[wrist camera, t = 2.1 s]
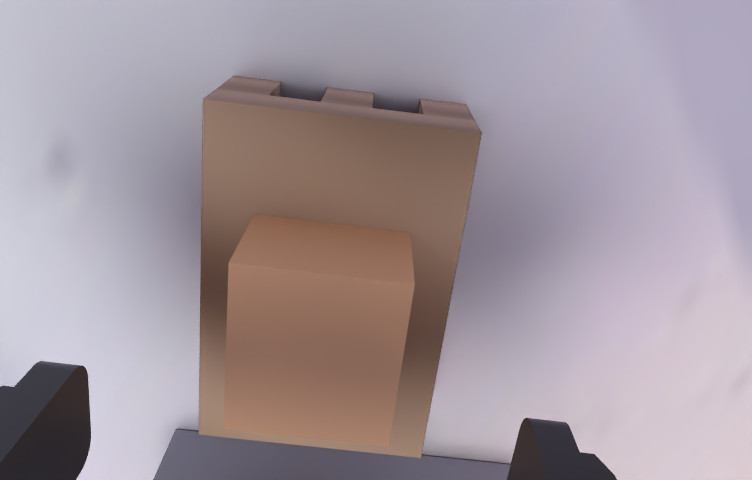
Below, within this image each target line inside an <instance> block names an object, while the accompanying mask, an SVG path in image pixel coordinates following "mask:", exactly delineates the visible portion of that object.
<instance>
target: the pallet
mask: <svg viewBox="0 0 752 480" xmlns="http://www.w3.org/2000/svg"><path fill="white" fill-rule="evenodd" d="M280 87H281V82H279V81H271V80H263V79H254V78H246V77H238V76H233V77H232V78H231V79H229V80H228V81H227V82H225V83H224V84H223V85H221V86H220V87H219V88H217V89H216V90H215V91H213V92H212V93H211V94H209V95H208V96H207V97H205V98H204V99H203V137H202V215H201V292H200V369H199V435H207V436H217V437H226V438H236V439H245V440H255V441H264V442H274V443H283V444H293V445H302V446H312V447H321V448H331V449H340V450H350V451H359V452H369V453H378V454H388V455H397V456H407V457H416V458H421V454H422V449H423V444H424V438H425V433H426V428H427V422H428V417H429V412H430V406H431V401H432V396H433V390H434V385H435V380H436V374H437V369H438V364H439V358H440V353H441V348H442V342H443V337H444V332H445V326H446V321H447V316H448V310H449V305H450V300H451V294H452V289H453V284H454V278H455V273H456V268H457V262H458V257H459V252H460V246H461V241H462V236H463V230H464V225H465V220H466V214H467V209H468V204H469V198H470V193H471V188H472V182H473V177H474V172H475V166H476V161H477V156H478V150H479V145H480V140H481V134H482V133H481V131H480V129H479V127H478V125H477V124H476V122H475V120H474V118H473V116H472V115H471V113H470V111H469V109H468V107H467V105H465V104H457V103H449V102H441V101H433V100H425V99H420V103H419V110H418V114H417V113H409V112H401V111H393V110H385V109H376V108H372V107H373V97H374V93H368V92H360V91H352V90H344V89H335V88H327V90H326V92H325V94H324V96H323V98H322V100H321V102H319V101H311V100H303V99H295V98H287V97H280ZM254 214H256V215H264V216H273V217H281V218H290V219H299V220H307V221H316V222H324V223H333V224H341V225H350V226H359V227H367V228H376V229H384V230H393V231H401V232H410V233H411V245H412V256H413V268H414V280H415V286H414V293H413V299H412V305H411V311H410V318H409V324H408V330H407V336H406V342H405V349H404V355H403V361H402V367H401V374H400V380H399V386H398V392H397V398H396V405H395V411H394V417H393V423H392V429H391V436H390V442H389V447H387V446H378V445H368V444H359V443H349V442H340V441H330V440H321V439H312V438H302V437H293V436H283V435H274V434H264V433H255V432H245V431H236V430H226V429H223V423H224V392H225V360H226V329H227V298H228V266H229V261H230V259H231V257H232V256H233V254H234V252H235V250H236V248H237V246H238V244H239V242H240V240H241V238H242V237H243V235H244V233H245V231H246V229H247V227H248V225H249V223H250V221H251V219H252V218H253V216H254Z"/></svg>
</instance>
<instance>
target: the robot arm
mask: <svg viewBox="0 0 752 480" xmlns="http://www.w3.org/2000/svg"><path fill="white" fill-rule="evenodd" d="M90 441H91V426H90V407H89V388H88V374H87V371H86V368H85V367H84V366H79V365H71V364H62V363H53V362H44V361H40V362H38V363H36V364H35V365H34V366H33V367H32V368H31V369H30V370H29V371H28V372H27V374H26V375H25V376H24V377H23V378H22V379H21V380H20V381H19V382H18V383H17V385H16V386H15V387H9V386H1V387H0V480H76V479H77V477H78V475H79V474H80V472H81V470H82V468H83V466H84V464H85V461H86V459H87V456H88V452H89V447H90ZM507 480H617V479H616V477H615V475H614V474H613V473H612V472H611V471H610V470H609V469H608V468H607V467H606V466H605V465H604V464H603V463H602V462H601V461H600V460H599V458H598V457H597V456H596V455H595V454H588V453H580V452H579V450H578V447H577V445H576V442H575V440H574V437H573V435H572V432H571V430H570V427H569V425H568V424H567V423H565V422H557V421H549V420H540V419H531V418H525V419H524V420H523V422H522V424H521V427H520V430H519V434H518V438H517V442H516V446H515V450H514V454H513V458H512V461H511V465H510V469H509V473H508V477H507Z"/></svg>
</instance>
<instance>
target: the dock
mask: <svg viewBox="0 0 752 480" xmlns="http://www.w3.org/2000/svg"><path fill="white" fill-rule="evenodd" d="M509 469H510V464H500V463H491V462H482V461H472V460H463V459H453V458H444V457H434V456H425V455H421V458H416V457H407V456H397V455H388V454H378V453H369V452H359V451H350V450H340V449H331V448H321V447H312V446H302V445H293V444H283V443H274V442H264V441H255V440H245V439H236V438H226V437H217V436H207V435H199V432H197V431H188V430H178V429H176V430H175V433H174V435H173V437H172V439H171V442H170V444H169V446H168V448H167V450H166V453H165V455H164V457H163V459H162V461H161V464H160V466H159V468H158V470H157V473H156V475H155V477H154V479H153V480H507V477H508V473H509Z"/></svg>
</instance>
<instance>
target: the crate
mask: <svg viewBox="0 0 752 480" xmlns="http://www.w3.org/2000/svg"><path fill="white" fill-rule="evenodd" d="M414 286H415V280H414V268H413V256H412V245H411V233H410V232H401V231H393V230H384V229H376V228H367V227H359V226H350V225H341V224H333V223H324V222H316V221H307V220H299V219H290V218H281V217H273V216H264V215H256V214H254V216H253V218H252V219H251V221H250V223H249V225H248V227H247V229H246V231H245V233H244V235H243V237H242V238H241V240H240V242H239V244H238V246H237V248H236V250H235V252H234V254H233V256H232V257H231V259H230V261H229V266H228V298H227V329H226V360H225V392H224V423H223V429H226V430H236V431H245V432H255V433H264V434H274V435H283V436H293V437H302V438H312V439H321V440H330V441H340V442H349V443H359V444H368V445H378V446H387V447H389V442H390V436H391V429H392V423H393V417H394V411H395V405H396V398H397V392H398V386H399V380H400V374H401V367H402V361H403V355H404V349H405V342H406V336H407V330H408V324H409V318H410V311H411V305H412V299H413V293H414Z"/></svg>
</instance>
